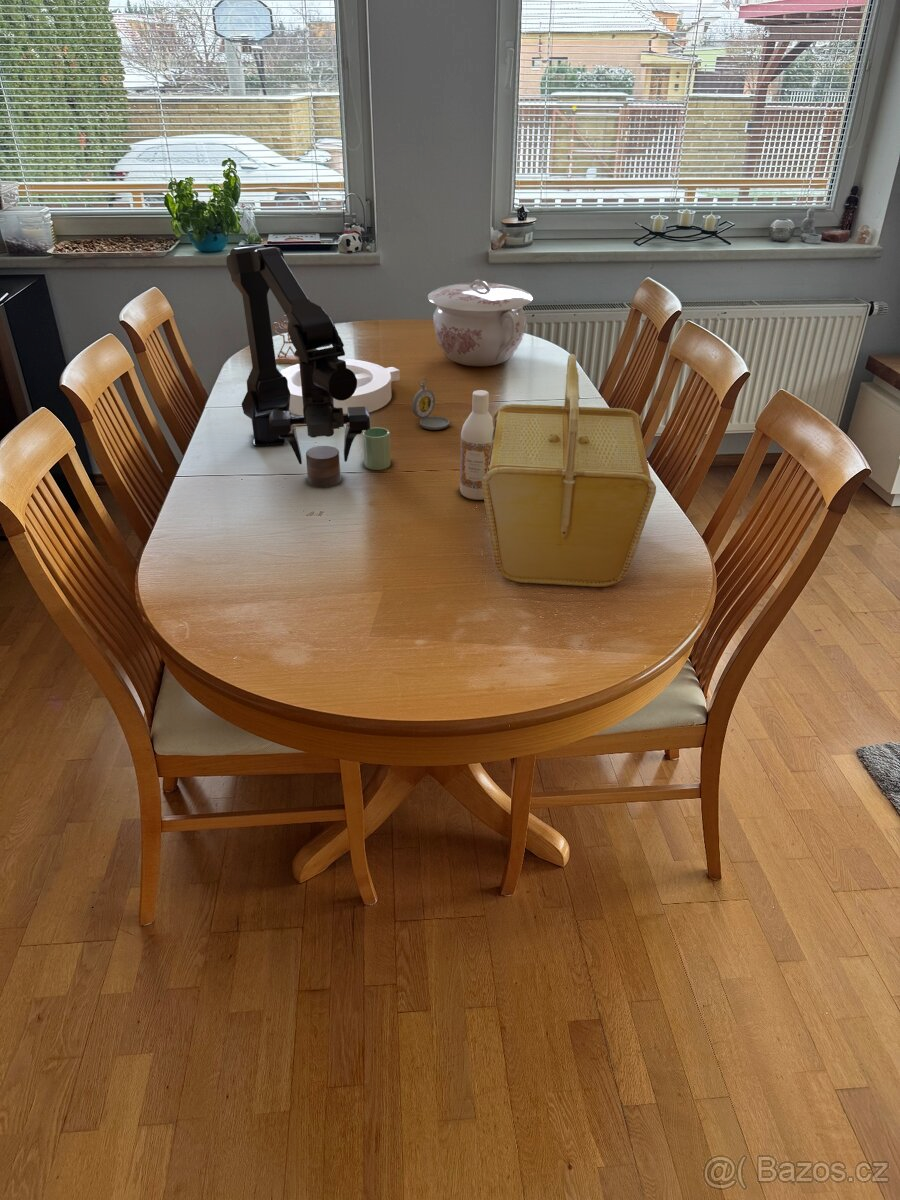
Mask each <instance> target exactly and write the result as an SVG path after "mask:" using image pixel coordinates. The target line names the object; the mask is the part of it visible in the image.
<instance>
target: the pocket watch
mask: <svg viewBox="0 0 900 1200" xmlns="http://www.w3.org/2000/svg"><path fill="white" fill-rule="evenodd" d="M422 380H425V382H422V384H421V381H422ZM427 384H428V379H427V378H424V377H423V378H420V379H419V380H418V385H419V386H420V387H421V388H422V389H420V390H418V391H417V392H416V393H415V394H414V397H413V398H412V400H411V411H412V413H413V415H414V417H416V418H418V419H420V421H419V426H420V427H422V428H423V429H425V430H431V431H439V430H443V429H446V428H448V427H449V426H450V420H449V419H448V418H446V417H443V416H438V415H437V416H435V415H432V416H430V415H431V414H432V412H433V411H434V408H435V405H436V397H435V394H434V392H433V391H432V390H431V389H429V388H426V387H427Z"/></svg>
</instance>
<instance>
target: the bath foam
mask: <svg viewBox="0 0 900 1200" xmlns="http://www.w3.org/2000/svg"><path fill="white" fill-rule="evenodd" d="M471 397H472V401H471V402H472V404H471V405H472V407H471V409H472V411H471V412H470V414H469V415H468V417H467V418H466V419H465V421H464V423H463V425H462V428H461V431H460V432H461V433H460V460H459V461H460V466H459V467H460V470H459V479H460V480H459V490H460V494H461V496H463V497H464V498H466V499H470V500H475V501H478V500H479V501H483V500H484V496H483V490H482V478H483V477H484V476H485V474H486V473H487V468H488V462H489V455H490V449H491V443H492V437H493V431H494V428H493V416H492V415H491V414H490V412H489V400H490V394H489V391H487V390H484V389H477V390H474V391H473V392H472V396H471Z"/></svg>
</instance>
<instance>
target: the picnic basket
mask: <svg viewBox="0 0 900 1200" xmlns="http://www.w3.org/2000/svg"><path fill="white" fill-rule="evenodd" d="M579 376H580V375H579V371H578V368H577V356H576V354H574V353H570V354H569V355H568V356H567V365H566V375H565V391H564V403H563V405H548V404H547V405H546V404H521V403H509V404H504V405H502V406H500V407H498V408H497V409H496V410H495V412H494V413H493V414H492V418H493V428H494V431H493V437H492V443H491V449H490V455H489V462H488V468H487V473H486V474H485V476H484V477H483V478H482V490H483V496H484V506H485V513H486V519H487V525H488V531H489V535H490V543H491V547H492V548H491V549H492V553H493V560H494V565H495V568H496V569H497V571H498V573H499V574H500V575H502V576H503V577H504V578H506V579H507V580H510V581H512V582H517V583H523V584H541V585H556V586H557V585H559V586H560V585H561V586H575V587H576V586H577V587H593V588H602V587H609V586H613V585H616V584H618V583H619V582H620V581H623V579H625V577H626V575H627V574H628V573H629V569H630V567H631V563H632V561H633V558H634V556H635V552H636V550H637V548H638V544H639V541H640V539H641V536H642V533H643V530H644V528H645V524H646V522H647V519H648V516H649V513H650V510H651V508H652V505H653V502H654V499H655V497H656V494H657V485H656V484H655V482H654V480H653V479H652V477H651V472H650V467H649V463H648V458H647V453H646V448H645V444H644V438H643V433H642V427H643V420H642V417H641V416H640V415H639V413H637V412H635V411H634V410H633V409H629V408H624V407H623V408H622V407H596V406H579V401H580V398H581V396H580V387H579V386H580V384H579Z"/></svg>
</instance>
